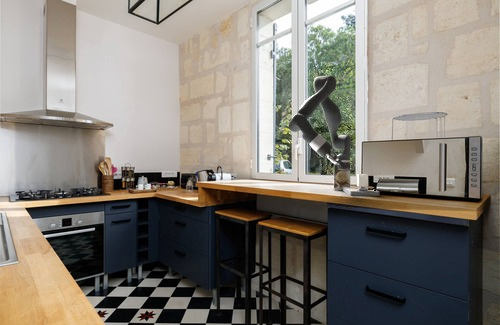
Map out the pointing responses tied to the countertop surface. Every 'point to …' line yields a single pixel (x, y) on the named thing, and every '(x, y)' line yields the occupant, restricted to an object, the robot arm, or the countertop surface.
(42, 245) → the countertop surface
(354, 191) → the fader console
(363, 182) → the fader knob
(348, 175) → the coffee box
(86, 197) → the countertop surface
